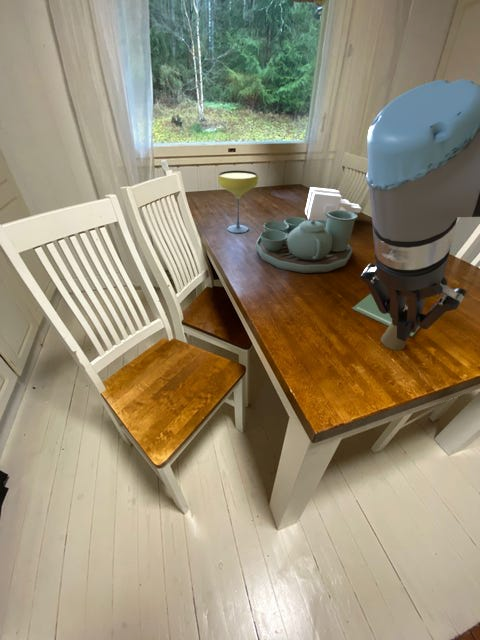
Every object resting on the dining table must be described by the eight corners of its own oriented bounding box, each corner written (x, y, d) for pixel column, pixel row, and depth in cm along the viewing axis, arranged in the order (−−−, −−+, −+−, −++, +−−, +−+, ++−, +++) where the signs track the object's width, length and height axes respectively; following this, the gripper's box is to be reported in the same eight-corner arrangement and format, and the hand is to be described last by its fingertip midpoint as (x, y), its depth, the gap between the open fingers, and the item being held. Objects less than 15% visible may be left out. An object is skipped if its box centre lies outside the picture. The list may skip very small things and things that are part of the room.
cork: (381, 347, 72) (396, 314, 65) (380, 332, 77) (394, 300, 70) (406, 352, 71) (424, 319, 64) (403, 338, 75) (420, 305, 68)
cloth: (426, 319, 82) (427, 317, 82) (411, 337, 75) (412, 336, 75) (369, 294, 92) (370, 293, 92) (351, 308, 86) (352, 307, 85)
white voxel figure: (360, 230, 144) (308, 224, 143) (348, 214, 163) (301, 209, 162) (371, 200, 134) (315, 194, 134) (356, 188, 154) (307, 182, 153)
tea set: (310, 229, 138) (316, 195, 128) (370, 262, 110) (384, 221, 100) (240, 242, 125) (240, 205, 115) (288, 284, 97) (294, 239, 87)
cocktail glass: (246, 221, 147) (248, 169, 132) (261, 233, 134) (265, 176, 119) (215, 225, 142) (212, 171, 126) (227, 238, 129) (226, 180, 113)
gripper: (342, 257, 35) (360, 334, 53) (460, 291, 27) (434, 368, 45) (373, 214, 36) (380, 304, 54) (496, 235, 28) (456, 333, 46)
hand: (404, 333), depth 50 cm, fingers closed
